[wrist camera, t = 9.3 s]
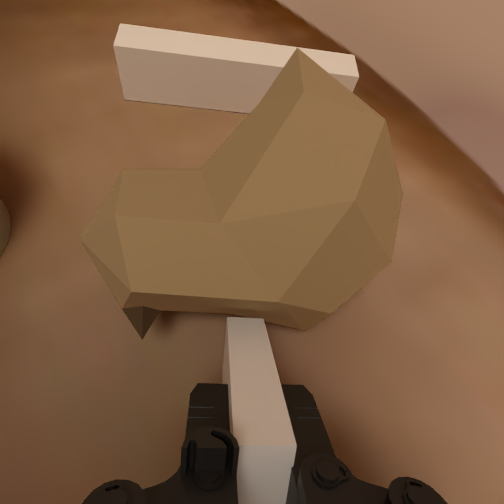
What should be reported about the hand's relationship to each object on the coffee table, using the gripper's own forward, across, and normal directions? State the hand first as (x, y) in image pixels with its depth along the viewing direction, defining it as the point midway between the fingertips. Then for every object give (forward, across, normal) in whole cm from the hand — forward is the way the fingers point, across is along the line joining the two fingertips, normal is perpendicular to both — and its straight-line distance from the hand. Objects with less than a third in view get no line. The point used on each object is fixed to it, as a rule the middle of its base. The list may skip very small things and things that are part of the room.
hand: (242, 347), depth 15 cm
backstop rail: (+16, 0, +11) cm, 20 cm away
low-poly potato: (+7, 0, +1) cm, 7 cm away
